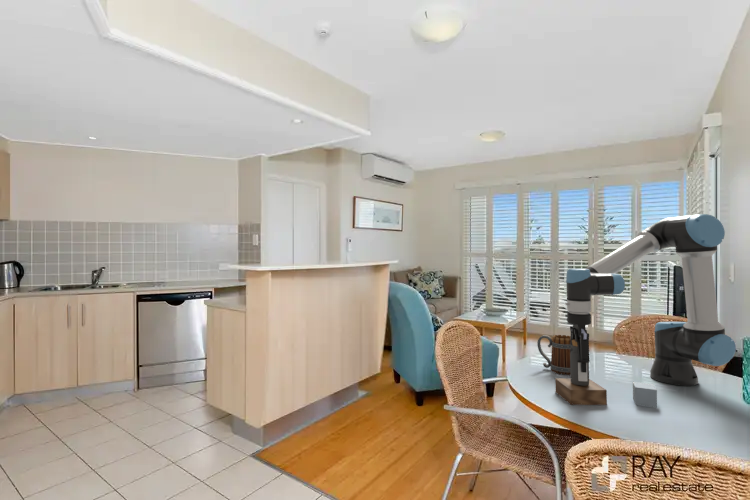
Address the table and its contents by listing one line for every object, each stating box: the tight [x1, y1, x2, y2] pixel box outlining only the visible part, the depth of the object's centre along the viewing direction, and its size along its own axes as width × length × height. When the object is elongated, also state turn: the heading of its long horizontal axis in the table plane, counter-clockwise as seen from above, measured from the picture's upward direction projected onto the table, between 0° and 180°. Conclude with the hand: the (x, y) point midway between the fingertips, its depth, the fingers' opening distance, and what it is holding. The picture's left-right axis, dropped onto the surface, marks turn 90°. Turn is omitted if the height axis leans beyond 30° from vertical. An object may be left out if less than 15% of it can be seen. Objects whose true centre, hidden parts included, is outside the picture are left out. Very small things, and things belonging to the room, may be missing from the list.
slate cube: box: [632, 381, 658, 409], centre depth 133 cm, size 6×6×6 cm
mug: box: [536, 334, 571, 376], centre depth 169 cm, size 16×11×15 cm
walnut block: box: [554, 377, 608, 406], centre depth 138 cm, size 12×12×5 cm
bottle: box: [570, 339, 590, 386], centre depth 138 cm, size 6×6×15 cm
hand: (579, 377), depth 138 cm, fingers closed on bottle, 6 cm apart
